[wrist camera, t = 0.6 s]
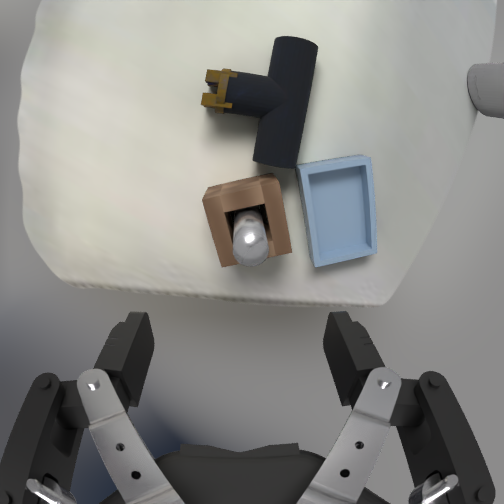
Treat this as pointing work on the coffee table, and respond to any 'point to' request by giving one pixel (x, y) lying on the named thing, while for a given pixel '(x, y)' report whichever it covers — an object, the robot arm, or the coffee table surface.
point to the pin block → (242, 196)
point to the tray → (338, 208)
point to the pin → (249, 237)
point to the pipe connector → (270, 99)
